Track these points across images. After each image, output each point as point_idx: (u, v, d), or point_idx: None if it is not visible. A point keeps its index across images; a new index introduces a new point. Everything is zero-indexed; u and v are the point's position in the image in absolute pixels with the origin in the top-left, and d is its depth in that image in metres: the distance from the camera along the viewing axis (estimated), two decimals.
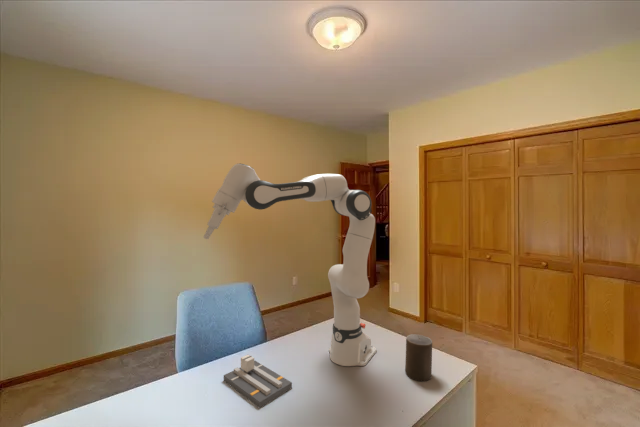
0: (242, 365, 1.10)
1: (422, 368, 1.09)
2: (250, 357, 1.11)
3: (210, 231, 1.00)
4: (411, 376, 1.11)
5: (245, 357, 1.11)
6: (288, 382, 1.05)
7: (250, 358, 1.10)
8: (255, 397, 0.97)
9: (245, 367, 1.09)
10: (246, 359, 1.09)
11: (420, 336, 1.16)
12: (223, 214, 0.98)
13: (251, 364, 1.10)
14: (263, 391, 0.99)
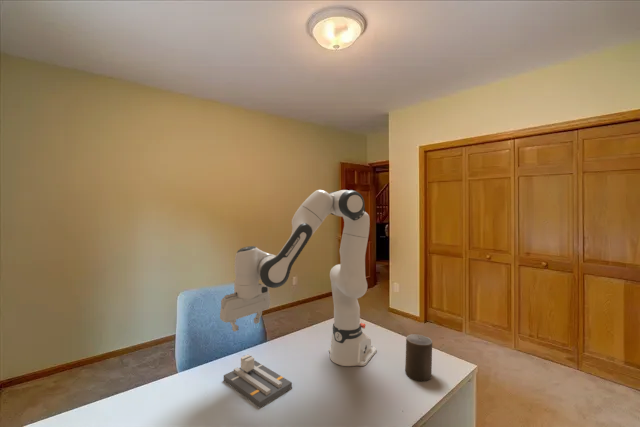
0: (242, 365, 1.10)
1: (422, 368, 1.09)
2: (250, 357, 1.11)
3: (232, 324, 1.05)
4: (411, 376, 1.11)
5: (245, 357, 1.11)
6: (288, 382, 1.05)
7: (250, 358, 1.10)
8: (255, 397, 0.97)
9: (245, 367, 1.09)
10: (246, 359, 1.09)
11: (420, 336, 1.16)
12: (225, 307, 1.02)
13: (251, 364, 1.10)
14: (263, 391, 0.99)
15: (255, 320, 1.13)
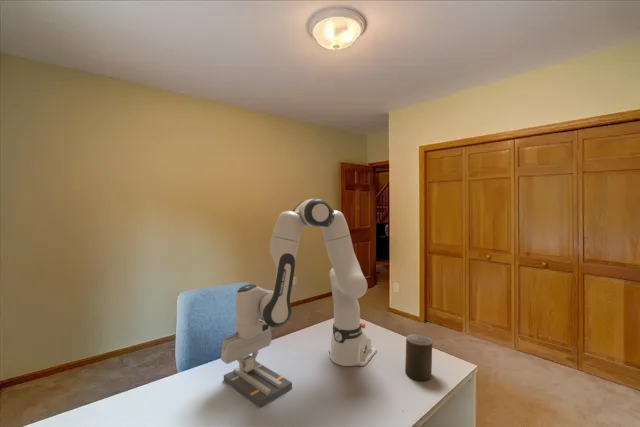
0: None
1: (422, 368, 1.09)
2: (250, 357, 1.11)
3: (239, 361, 1.07)
4: (411, 376, 1.11)
5: (245, 357, 1.11)
6: (288, 382, 1.05)
7: (250, 358, 1.10)
8: (255, 397, 0.97)
9: (245, 367, 1.09)
10: (246, 359, 1.09)
11: (420, 336, 1.16)
12: (226, 348, 1.02)
13: (251, 364, 1.10)
14: (263, 391, 0.99)
15: None
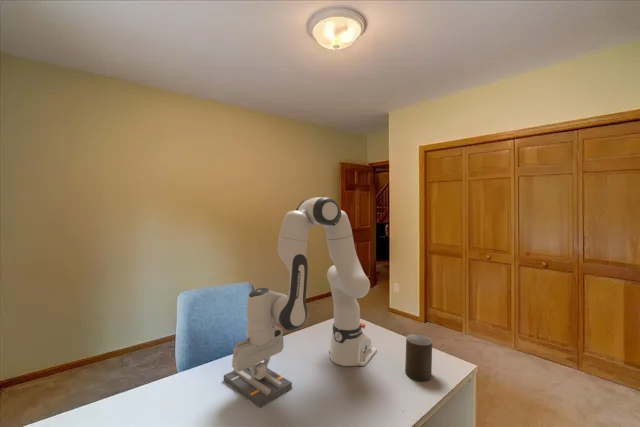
0: None
1: (422, 368, 1.09)
2: (262, 364, 1.06)
3: (250, 368, 1.03)
4: (411, 376, 1.11)
5: (256, 364, 1.06)
6: (288, 382, 1.05)
7: (262, 365, 1.05)
8: (255, 397, 0.97)
9: (257, 375, 1.04)
10: (258, 366, 1.05)
11: (420, 336, 1.16)
12: (237, 355, 0.98)
13: (263, 371, 1.05)
14: (263, 391, 0.99)
15: None
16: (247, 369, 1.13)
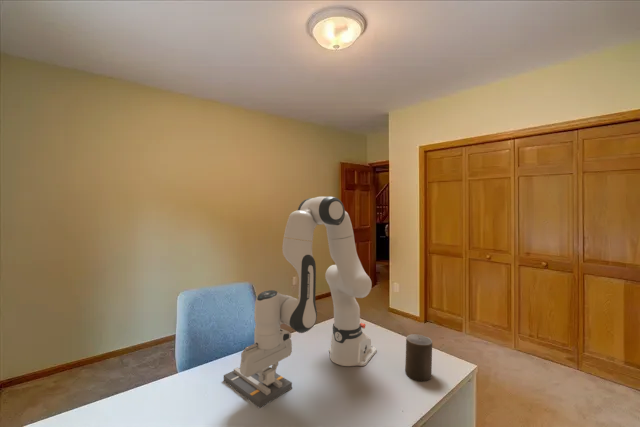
0: None
1: (422, 368, 1.09)
2: (270, 369, 1.03)
3: (258, 374, 1.00)
4: (411, 376, 1.11)
5: (265, 369, 1.03)
6: (288, 382, 1.05)
7: (270, 370, 1.02)
8: (255, 397, 0.97)
9: (265, 380, 1.01)
10: (266, 371, 1.01)
11: (420, 336, 1.16)
12: (246, 361, 0.94)
13: (271, 377, 1.02)
14: (263, 391, 0.99)
15: None
16: None
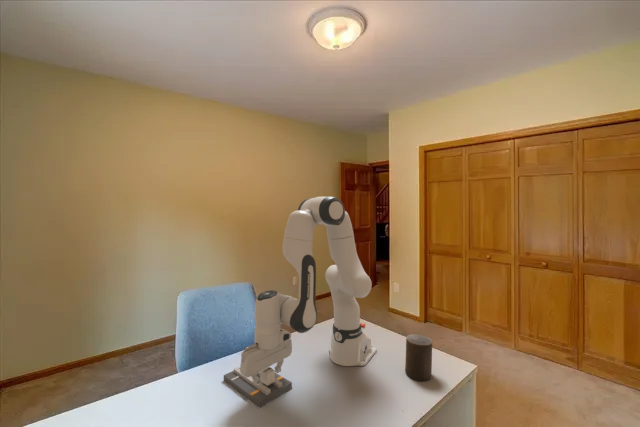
0: (262, 378, 1.02)
1: (422, 368, 1.09)
2: (270, 369, 1.03)
3: (253, 377, 0.98)
4: (411, 376, 1.11)
5: (265, 369, 1.03)
6: (288, 382, 1.05)
7: (270, 370, 1.02)
8: (255, 397, 0.97)
9: (265, 380, 1.01)
10: (266, 371, 1.01)
11: (420, 336, 1.16)
12: (246, 361, 0.94)
13: (271, 377, 1.02)
14: (263, 391, 0.99)
15: (276, 369, 1.05)
16: None
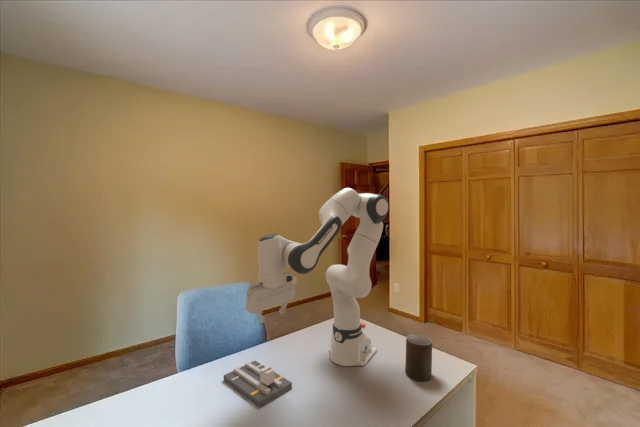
0: (262, 378, 1.02)
1: (422, 368, 1.09)
2: (270, 369, 1.03)
3: (258, 315, 1.01)
4: (411, 376, 1.11)
5: (265, 369, 1.03)
6: (288, 382, 1.05)
7: (270, 370, 1.02)
8: (255, 397, 0.97)
9: (265, 380, 1.01)
10: (266, 371, 1.01)
11: (420, 336, 1.16)
12: (251, 297, 0.98)
13: (271, 377, 1.02)
14: (263, 391, 0.99)
15: (281, 310, 1.09)
16: (247, 369, 1.13)
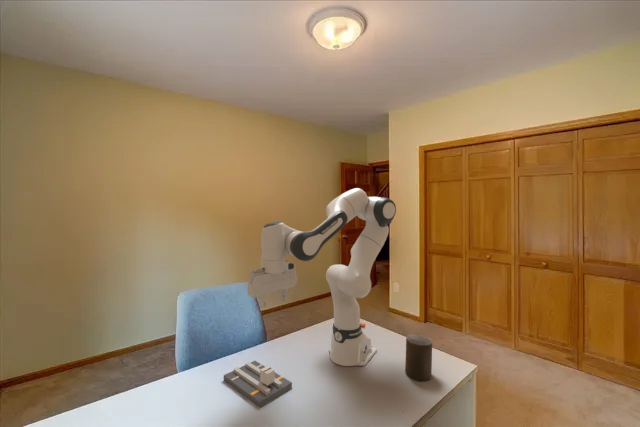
0: (262, 378, 1.02)
1: (422, 368, 1.09)
2: (270, 369, 1.03)
3: (259, 299, 1.03)
4: (411, 376, 1.11)
5: (265, 369, 1.03)
6: (288, 382, 1.05)
7: (270, 370, 1.02)
8: (255, 397, 0.97)
9: (265, 380, 1.01)
10: (266, 371, 1.01)
11: (420, 336, 1.16)
12: (253, 281, 0.99)
13: (271, 377, 1.02)
14: (263, 391, 0.99)
15: (281, 297, 1.10)
16: (247, 369, 1.13)
